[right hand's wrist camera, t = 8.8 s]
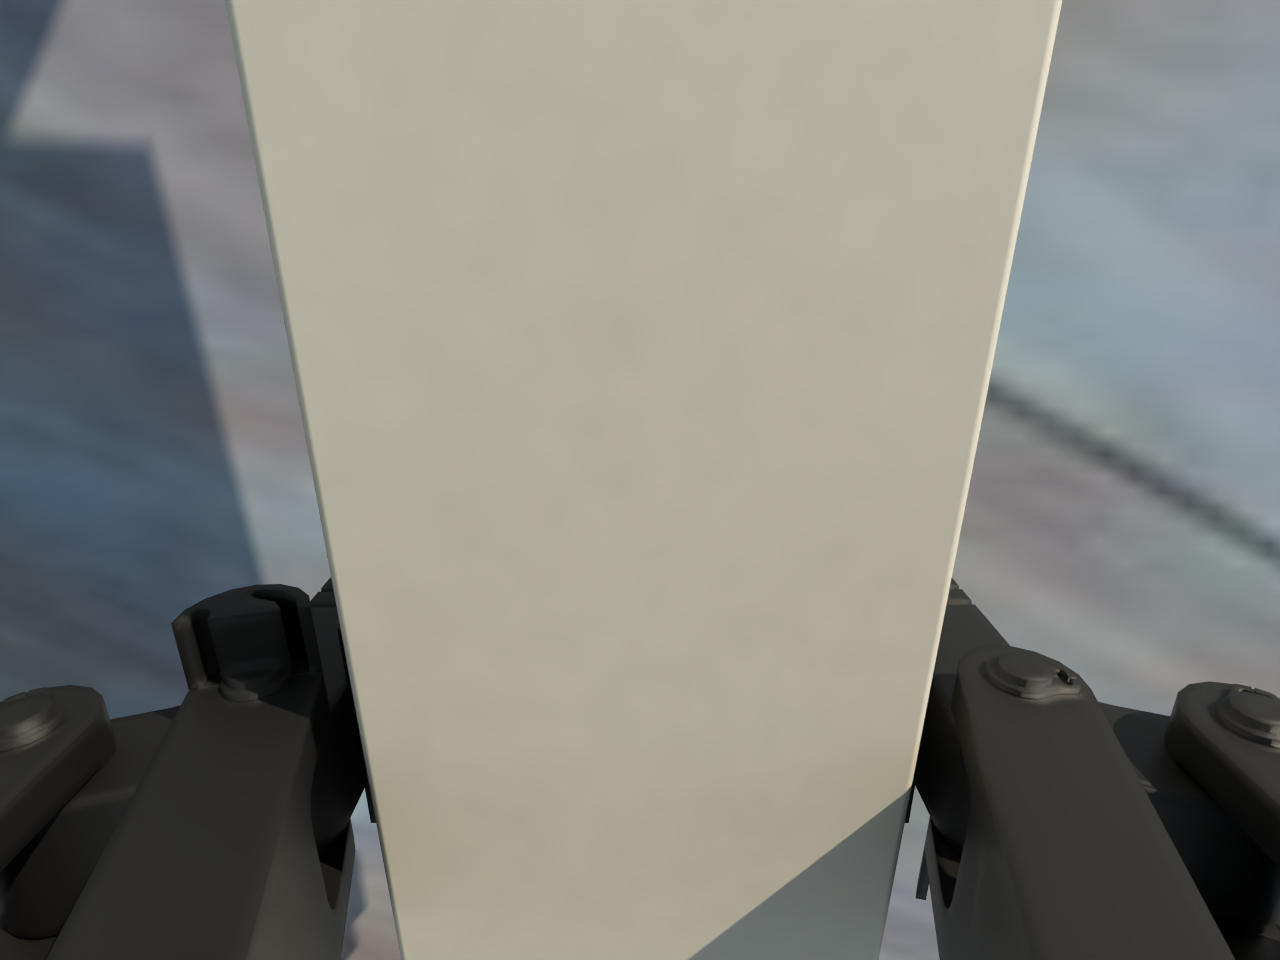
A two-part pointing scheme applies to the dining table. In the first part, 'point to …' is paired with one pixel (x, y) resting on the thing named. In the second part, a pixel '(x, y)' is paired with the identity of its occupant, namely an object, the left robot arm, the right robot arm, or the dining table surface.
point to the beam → (642, 436)
